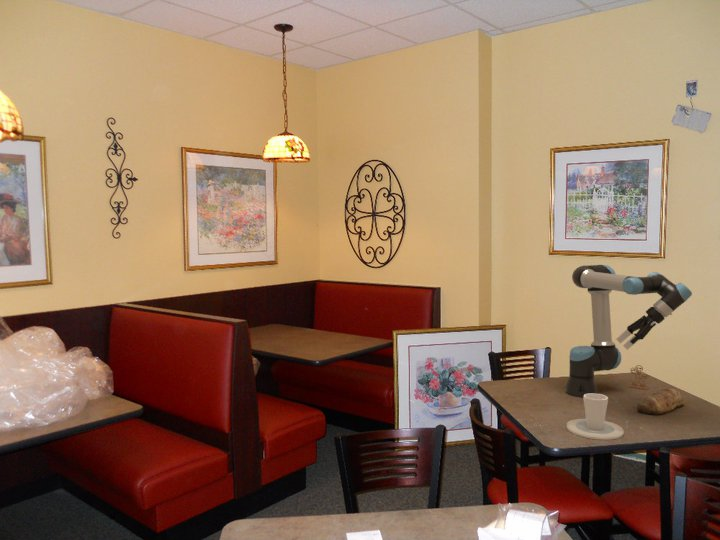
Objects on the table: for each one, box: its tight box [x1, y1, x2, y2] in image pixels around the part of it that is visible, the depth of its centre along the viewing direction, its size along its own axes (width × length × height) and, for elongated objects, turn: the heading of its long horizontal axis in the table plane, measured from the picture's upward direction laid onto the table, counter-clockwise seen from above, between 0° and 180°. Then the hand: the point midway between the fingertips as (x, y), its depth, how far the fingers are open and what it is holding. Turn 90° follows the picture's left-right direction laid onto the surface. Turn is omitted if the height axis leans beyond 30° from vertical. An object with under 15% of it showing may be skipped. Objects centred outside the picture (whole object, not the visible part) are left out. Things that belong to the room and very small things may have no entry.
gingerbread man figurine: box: [628, 364, 650, 391], centre depth 301 cm, size 9×4×12 cm, turn 50°
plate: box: [566, 417, 625, 441], centre depth 241 cm, size 22×22×1 cm
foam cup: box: [582, 393, 609, 430], centre depth 240 cm, size 10×9×13 cm
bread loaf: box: [637, 388, 684, 416], centre depth 269 cm, size 35×18×9 cm, turn 135°
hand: (621, 344), depth 259 cm, fingers open, 13 cm apart
